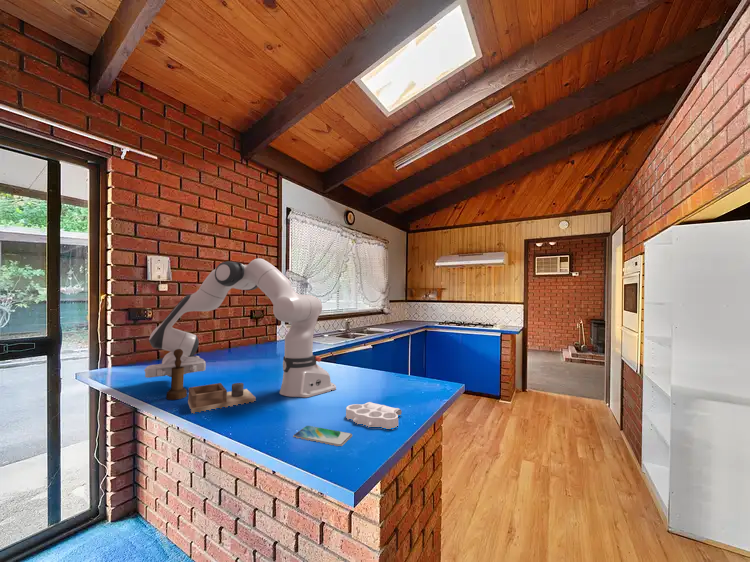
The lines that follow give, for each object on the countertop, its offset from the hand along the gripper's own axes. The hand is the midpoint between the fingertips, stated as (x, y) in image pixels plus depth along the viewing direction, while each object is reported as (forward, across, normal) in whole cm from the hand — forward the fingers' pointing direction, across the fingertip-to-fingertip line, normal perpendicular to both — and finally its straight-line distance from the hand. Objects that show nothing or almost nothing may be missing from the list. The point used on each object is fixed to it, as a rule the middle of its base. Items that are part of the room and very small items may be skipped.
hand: (178, 372), depth 118 cm
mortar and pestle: (0, 0, +10) cm, 10 cm away
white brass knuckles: (+61, +48, +10) cm, 78 cm away
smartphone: (+62, +30, +10) cm, 70 cm away
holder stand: (+16, +13, +9) cm, 22 cm away
